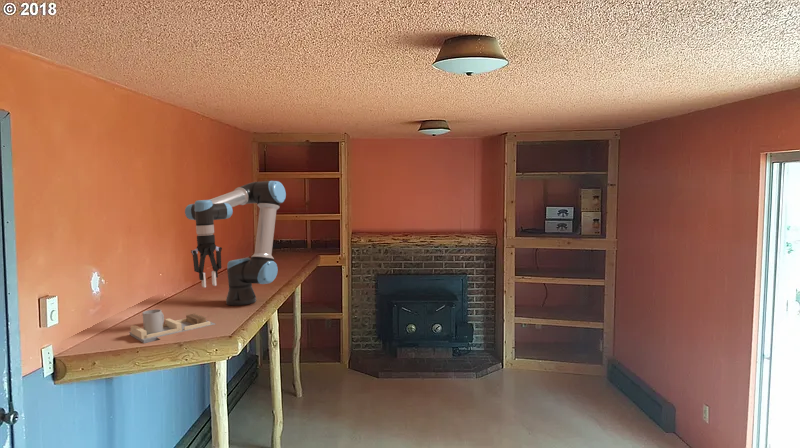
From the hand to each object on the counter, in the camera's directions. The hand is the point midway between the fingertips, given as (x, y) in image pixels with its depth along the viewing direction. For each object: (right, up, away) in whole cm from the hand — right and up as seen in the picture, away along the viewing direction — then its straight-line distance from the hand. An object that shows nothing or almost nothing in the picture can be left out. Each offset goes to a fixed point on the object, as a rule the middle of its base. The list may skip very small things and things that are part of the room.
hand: (209, 286), depth 237 cm
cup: (-17, -18, -15) cm, 29 cm away
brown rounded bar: (-4, -16, -4) cm, 17 cm away
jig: (-12, -18, -10) cm, 24 cm away
